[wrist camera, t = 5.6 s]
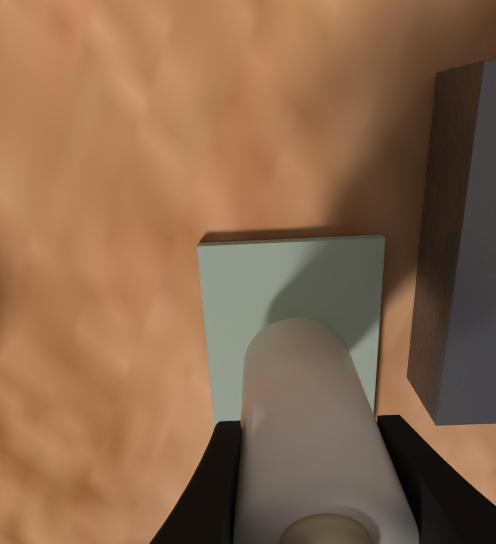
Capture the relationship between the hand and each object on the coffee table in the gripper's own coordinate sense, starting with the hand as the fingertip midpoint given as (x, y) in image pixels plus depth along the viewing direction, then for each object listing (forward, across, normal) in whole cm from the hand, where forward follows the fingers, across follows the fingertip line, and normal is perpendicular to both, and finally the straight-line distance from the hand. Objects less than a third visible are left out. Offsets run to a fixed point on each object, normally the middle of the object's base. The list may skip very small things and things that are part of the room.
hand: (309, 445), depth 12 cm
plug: (+4, 0, 0) cm, 4 cm away
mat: (+6, 0, 0) cm, 6 cm away
